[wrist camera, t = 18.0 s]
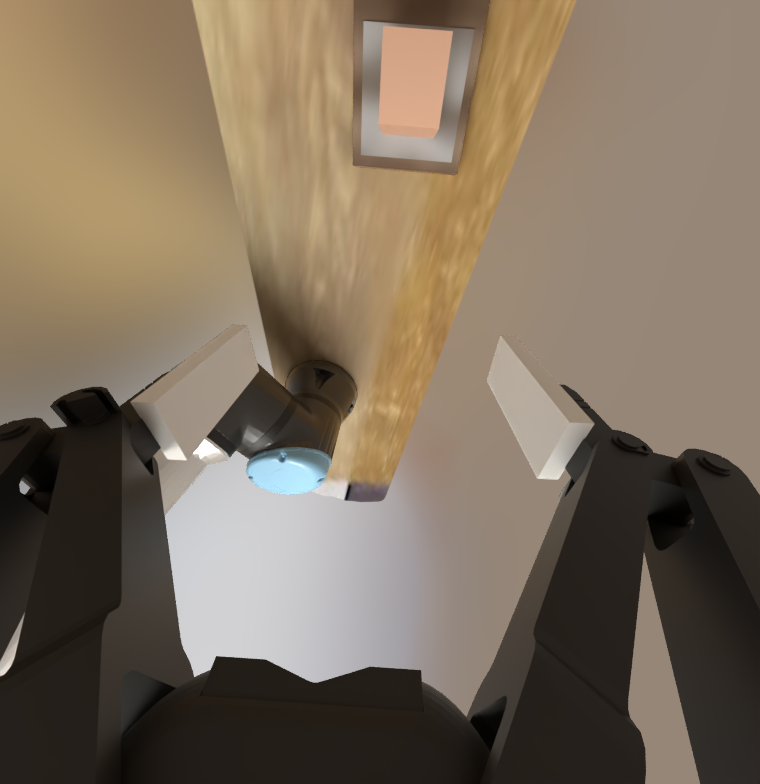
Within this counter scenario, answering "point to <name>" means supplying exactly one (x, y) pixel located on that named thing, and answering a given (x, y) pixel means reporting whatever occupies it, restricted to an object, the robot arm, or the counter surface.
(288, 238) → the counter surface
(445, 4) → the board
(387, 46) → the terracotta block
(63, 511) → the robot arm
